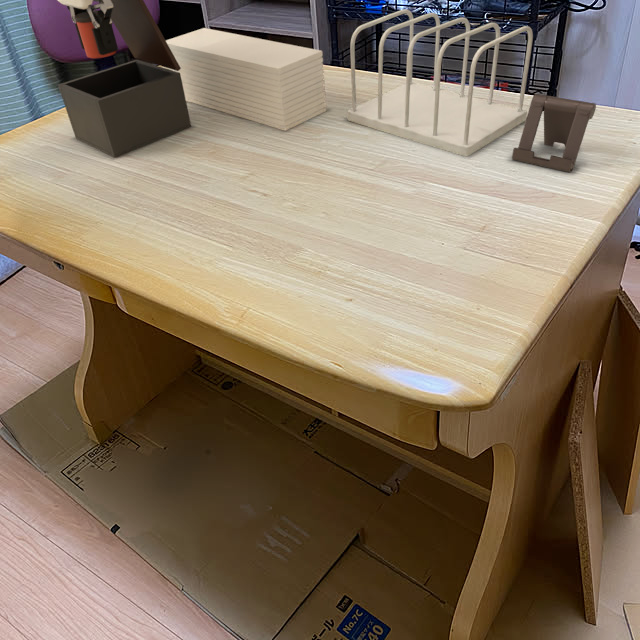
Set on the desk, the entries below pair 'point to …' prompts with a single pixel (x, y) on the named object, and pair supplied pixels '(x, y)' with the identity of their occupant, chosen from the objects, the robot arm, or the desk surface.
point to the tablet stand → (555, 130)
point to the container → (88, 35)
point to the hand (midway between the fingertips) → (100, 48)
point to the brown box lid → (142, 33)
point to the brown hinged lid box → (126, 106)
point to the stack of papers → (251, 77)
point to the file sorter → (439, 96)
